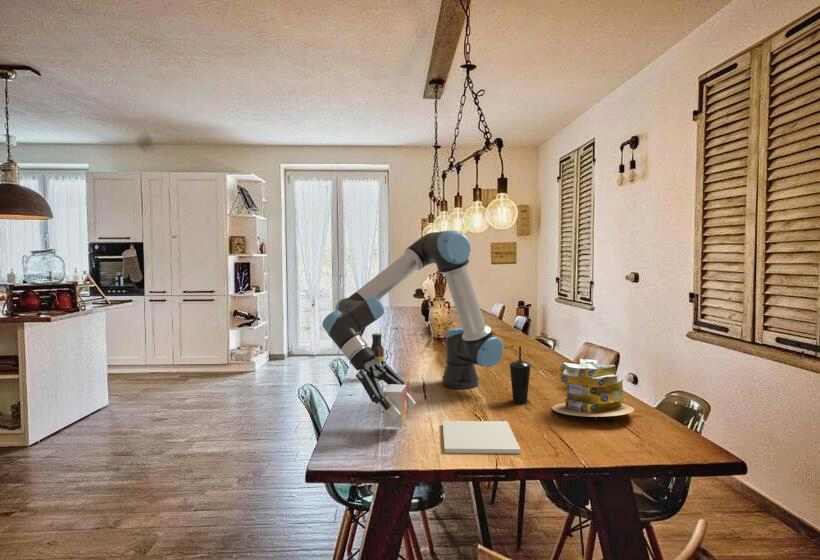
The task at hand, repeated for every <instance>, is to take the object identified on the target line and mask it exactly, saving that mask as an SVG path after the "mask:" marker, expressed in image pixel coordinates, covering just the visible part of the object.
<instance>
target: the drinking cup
mask: <svg viewBox="0 0 820 560" xmlns="http://www.w3.org/2000/svg"><path fill="white" fill-rule="evenodd" d="M518 357H519V358H518V360H514V361H511V362H509V364H508V365H509V371H510V379H511V381H510V382H511V391H512V392H511V393H512V402H513V403H514V404H518V405H519V404H520V405H524V404H527V403H528V395H529V387H530V386H529V385H530V376H531V375H530V374H531V373H530V372H531V367H532V363H530V362H528V361H525V360H522V346H519V347H518Z"/></svg>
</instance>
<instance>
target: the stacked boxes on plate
mask: <svg viewBox="0 0 820 560" xmlns="http://www.w3.org/2000/svg"><path fill="white" fill-rule="evenodd" d="M616 367H617V366H616V365H615V364H608V363H606V364H605V363H599V362H597V364H596V363H588V364H586V363H585V364H580V363H579V364H578V363H569V362H565V361H564V362H562V363H561V366H560V375H559V377H560V382H561V383H562V384H565V387H566V390H565V394H566V399H564V400H565V402H561V403H558V404H555V405H553V406H552V410H553V411H555V412H556V413H560V414H563V415H567V416H577V417H594V419H595V420H596V421H597V419H598V417H601V418H602V417H617V416H624V415H628V414H631V413H633V412H634V411H635V408H634V407H632V406H630V405H628V404H624V402H625V401H624V394H623V393H624V386H623V381H624V379H622V380H619V381H618V379H619V378H620V377H619V376H618V375H617V373H616V369H617V368H616Z"/></svg>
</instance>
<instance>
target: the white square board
mask: <svg viewBox="0 0 820 560" xmlns="http://www.w3.org/2000/svg"><path fill="white" fill-rule="evenodd" d="M442 433H443V434H442V435H443V447H444V454H514V455H515V454H518V455H519V454H521V452H522V451H521V447H520V445H519V443H518V441H517V438H516V436H515V434H514V433H513V431H512V428H511V426H510V424H509V422H508V421H507V420H506V421H504V420H503V421H501V420H500V421H498V420H497V421H495V420H493V421H492V420H491V421H490V420H488V421H487V420H476V421H475V420H443V421H442Z"/></svg>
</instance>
